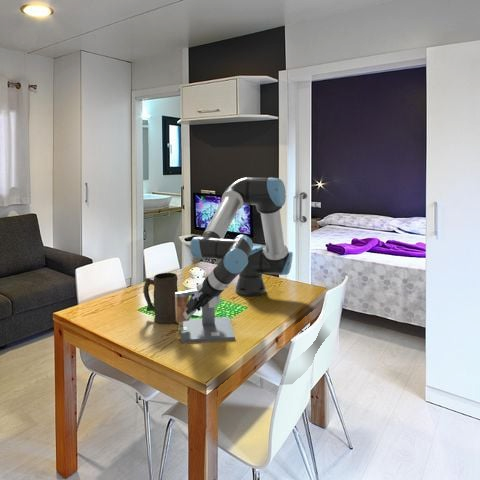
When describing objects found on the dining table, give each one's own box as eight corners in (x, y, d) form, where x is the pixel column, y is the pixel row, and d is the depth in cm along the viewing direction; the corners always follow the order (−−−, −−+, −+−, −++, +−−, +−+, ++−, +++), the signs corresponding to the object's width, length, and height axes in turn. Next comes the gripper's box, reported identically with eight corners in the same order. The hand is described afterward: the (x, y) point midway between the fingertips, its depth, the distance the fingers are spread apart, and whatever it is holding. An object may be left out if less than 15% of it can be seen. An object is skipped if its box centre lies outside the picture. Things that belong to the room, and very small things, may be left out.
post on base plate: (229, 319, 173) (229, 289, 171) (235, 339, 154) (235, 306, 151) (178, 322, 170) (178, 291, 168) (178, 343, 151) (177, 308, 148)
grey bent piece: (213, 310, 171) (213, 281, 169) (223, 317, 164) (223, 286, 161) (172, 318, 163) (171, 287, 160) (180, 326, 155) (180, 293, 153)
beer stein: (183, 315, 178) (179, 271, 175) (179, 324, 168) (174, 278, 164) (149, 316, 179) (144, 273, 175) (142, 326, 169) (137, 279, 165)
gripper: (208, 295, 138) (177, 329, 152) (234, 286, 148) (202, 320, 161) (197, 277, 141) (167, 312, 154) (223, 270, 150) (193, 304, 164)
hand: (185, 316), depth 158 cm, fingers closed
